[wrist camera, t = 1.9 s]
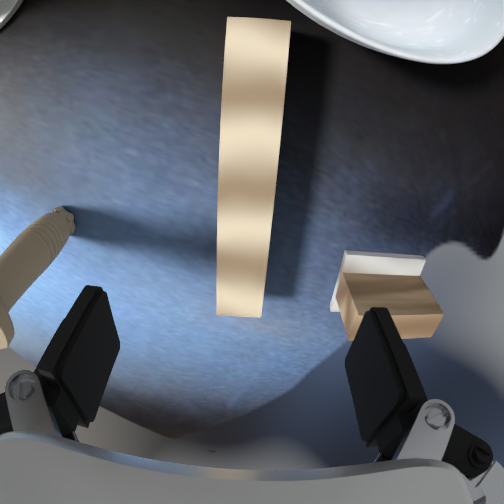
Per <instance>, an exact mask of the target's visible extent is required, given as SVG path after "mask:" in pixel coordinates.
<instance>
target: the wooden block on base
mask: <svg viewBox="0 0 504 504" xmlns="http://www.w3.org/2000/svg"><path fill="white" fill-rule="evenodd" d="M425 262H426V259H425V258H424V256H421V255H407V254H393V253H380V252H365V251H351V250H345V252H344V256H343V260H342V264H341V268H340V271H339V275H338V279H337V282H336V286H335V289H334V293H333V296H332V300H331V303H330V310H331V312H340V313H341V316H342V320H343V323H344V326H345V329H346V333H347V336H348V339H349V341H351V340H352V341H353V340H354V338H355V336H356V333H357V331H358V328H359V326H360V324H361V321H362V319H363V316H364V314H365V312H366V311H369V310H370V308H371V307H386V308H387V309H388V310H389V312H390V315H391V317H392V319H393V321H394V323H395V325H396V328H397V330H398V332H399V334H400V337H401V339H407V338H423V337H431V336H432V335H433V333H434V331H435V330H436V328H437V326H438V324H439V322H440V321H441V319H442V317H443V315H444V313H443V311H442V310H441V308H440V306H439V305H438V303H437V301H436V300H435V298H434V297H433V295H432V294H431V292H430V291H429V289H428V288H427V286H426V284H425V283H424V282H423V280H422V279H421V277H420V274H421V272H422V269H423V267H424V264H425Z"/></svg>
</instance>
